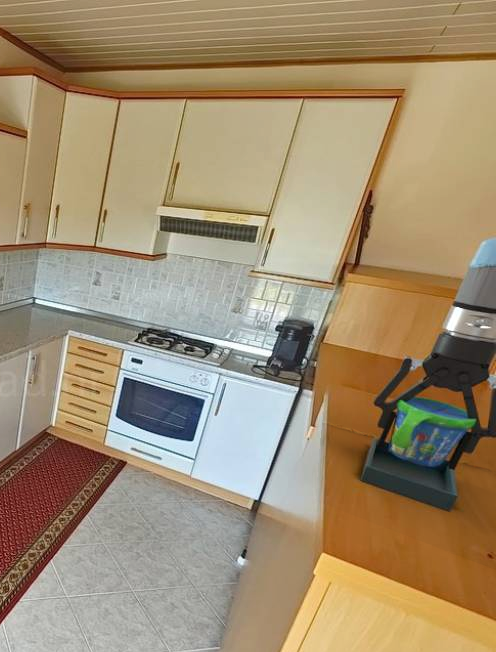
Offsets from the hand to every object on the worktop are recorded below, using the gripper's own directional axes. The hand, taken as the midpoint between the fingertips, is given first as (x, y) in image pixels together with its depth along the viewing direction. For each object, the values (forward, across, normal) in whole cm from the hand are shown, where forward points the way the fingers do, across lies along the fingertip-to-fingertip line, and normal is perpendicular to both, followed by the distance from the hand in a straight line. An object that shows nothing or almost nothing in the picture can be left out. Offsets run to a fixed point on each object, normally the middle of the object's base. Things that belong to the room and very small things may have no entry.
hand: (414, 455), depth 88 cm
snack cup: (+1, 0, 0) cm, 1 cm away
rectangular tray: (+5, 0, 0) cm, 5 cm away
